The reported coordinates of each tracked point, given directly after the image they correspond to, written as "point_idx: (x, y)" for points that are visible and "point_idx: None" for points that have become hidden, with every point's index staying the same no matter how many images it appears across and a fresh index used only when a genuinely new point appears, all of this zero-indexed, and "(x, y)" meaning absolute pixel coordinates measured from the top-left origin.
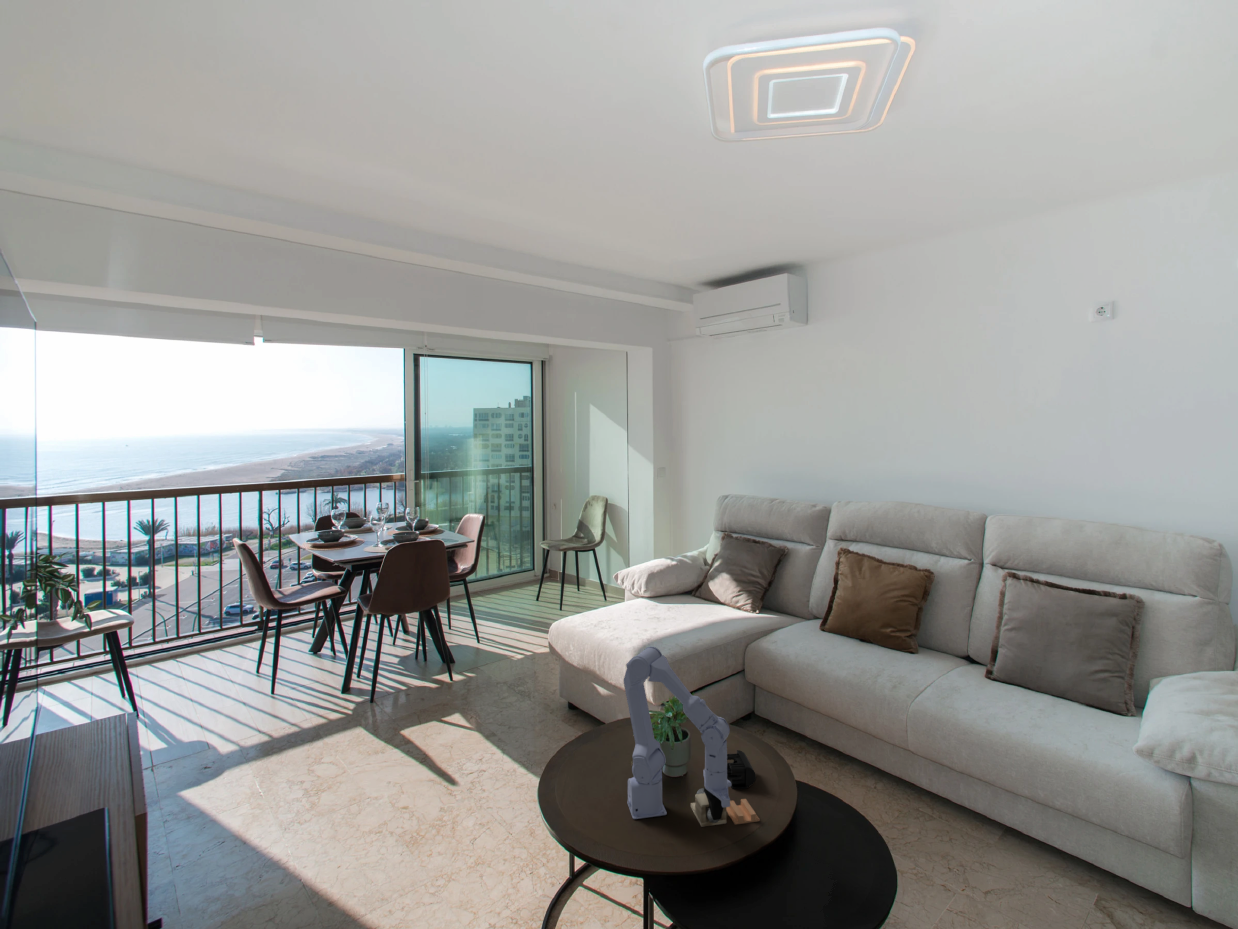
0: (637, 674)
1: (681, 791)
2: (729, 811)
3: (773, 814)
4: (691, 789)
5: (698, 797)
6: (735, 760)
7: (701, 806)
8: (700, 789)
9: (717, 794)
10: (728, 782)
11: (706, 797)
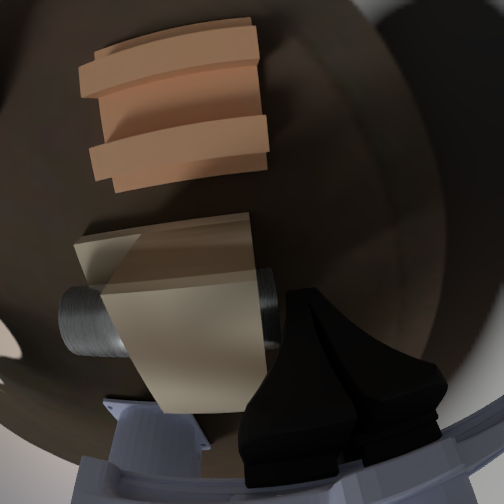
0: None
1: (44, 336)
2: (155, 176)
3: None
4: (22, 303)
5: (192, 409)
6: None
7: None
8: (75, 352)
9: (474, 472)
10: (415, 494)
11: (189, 382)
